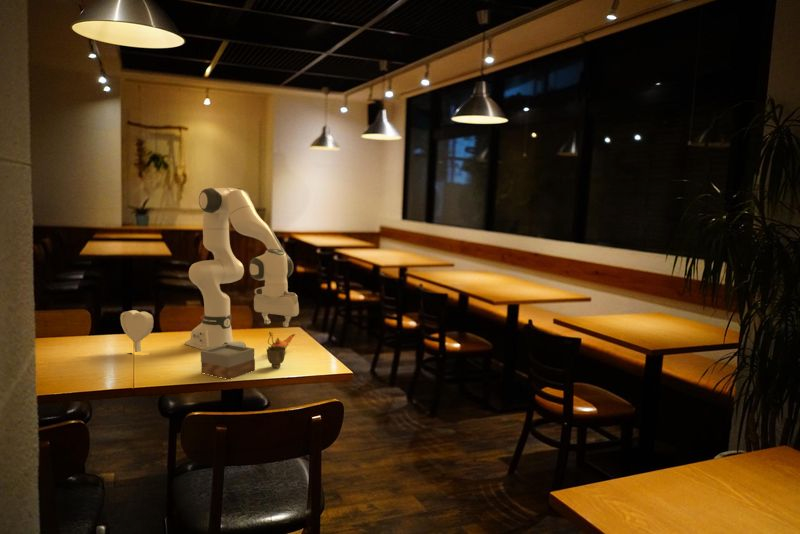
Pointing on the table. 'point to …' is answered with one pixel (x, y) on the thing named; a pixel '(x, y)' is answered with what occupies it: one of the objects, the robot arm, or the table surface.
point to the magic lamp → (281, 343)
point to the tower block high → (227, 355)
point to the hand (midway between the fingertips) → (276, 325)
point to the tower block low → (228, 369)
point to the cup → (276, 356)
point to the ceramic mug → (236, 343)
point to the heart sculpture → (137, 326)
